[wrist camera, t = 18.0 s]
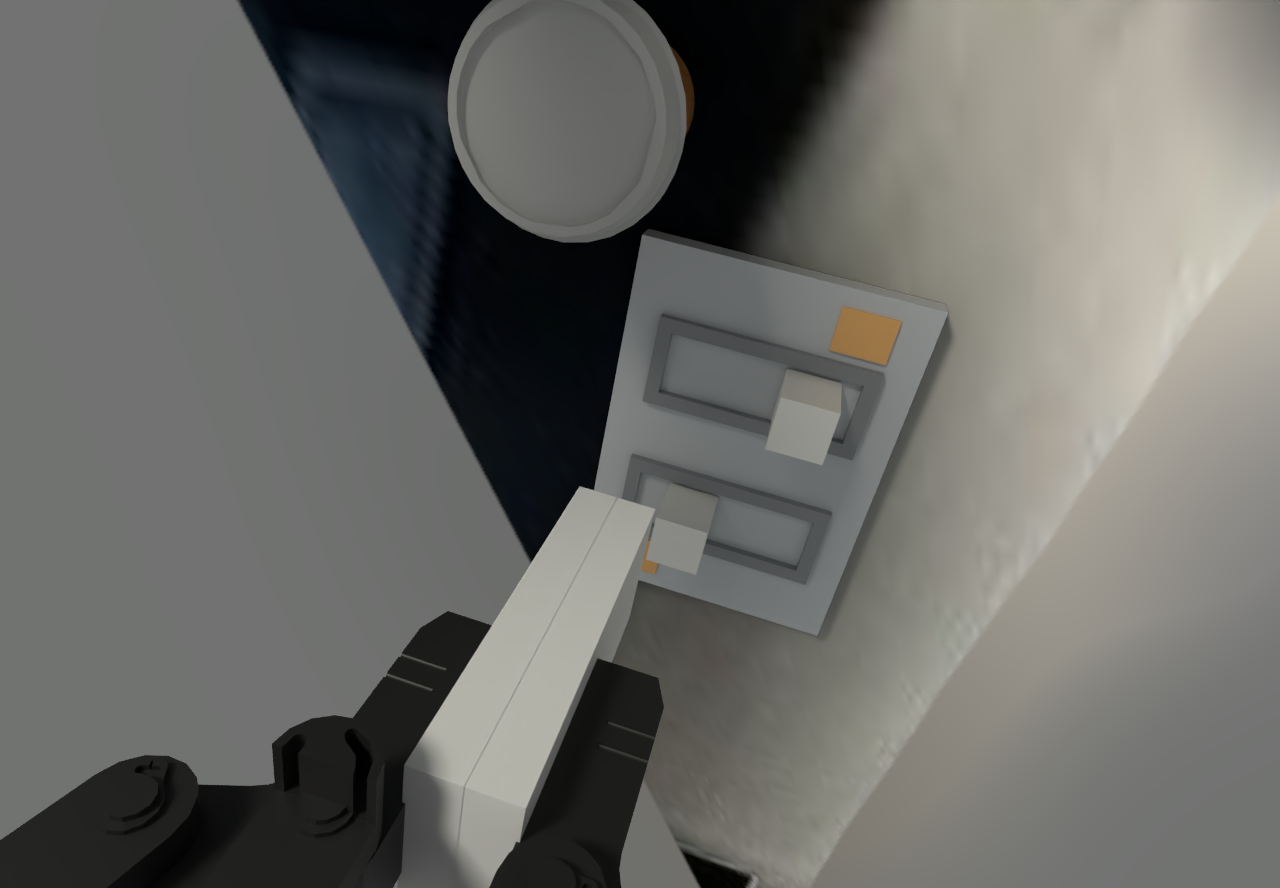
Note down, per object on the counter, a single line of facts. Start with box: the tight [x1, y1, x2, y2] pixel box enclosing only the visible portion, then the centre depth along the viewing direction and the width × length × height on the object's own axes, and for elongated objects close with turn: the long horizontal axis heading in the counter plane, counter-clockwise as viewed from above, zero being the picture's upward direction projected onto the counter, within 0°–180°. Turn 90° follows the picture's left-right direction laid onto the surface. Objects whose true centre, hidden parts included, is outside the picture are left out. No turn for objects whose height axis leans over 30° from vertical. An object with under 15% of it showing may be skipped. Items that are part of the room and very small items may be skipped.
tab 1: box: [646, 483, 719, 575], centre depth 45 cm, size 3×3×4 cm
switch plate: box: [594, 229, 948, 636], centre depth 45 cm, size 16×22×2 cm
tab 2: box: [765, 369, 842, 465], centre depth 40 cm, size 3×3×4 cm
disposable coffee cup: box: [448, 0, 695, 242], centre depth 34 cm, size 10×10×12 cm
